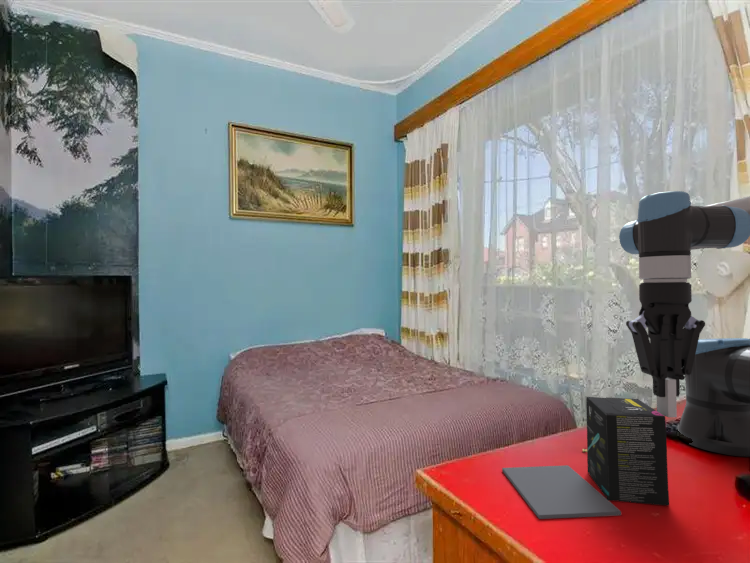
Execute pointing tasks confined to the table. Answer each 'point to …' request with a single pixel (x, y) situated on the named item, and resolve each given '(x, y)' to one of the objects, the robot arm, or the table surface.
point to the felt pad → (559, 492)
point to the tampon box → (627, 450)
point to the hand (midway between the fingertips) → (666, 414)
